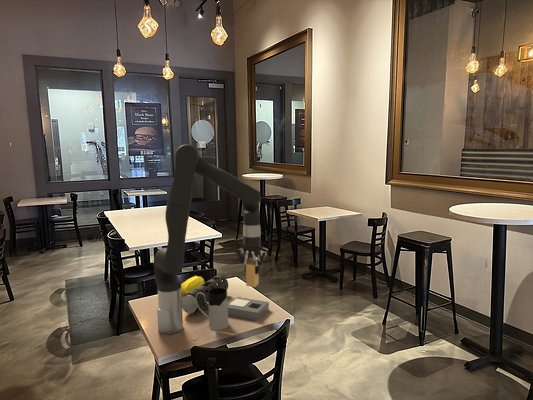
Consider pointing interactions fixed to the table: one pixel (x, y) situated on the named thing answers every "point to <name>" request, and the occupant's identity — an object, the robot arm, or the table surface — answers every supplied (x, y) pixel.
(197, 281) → the yellow banana
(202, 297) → the muzzle brake
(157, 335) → the table surface
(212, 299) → the white pitcher
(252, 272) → the plug
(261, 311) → the block
